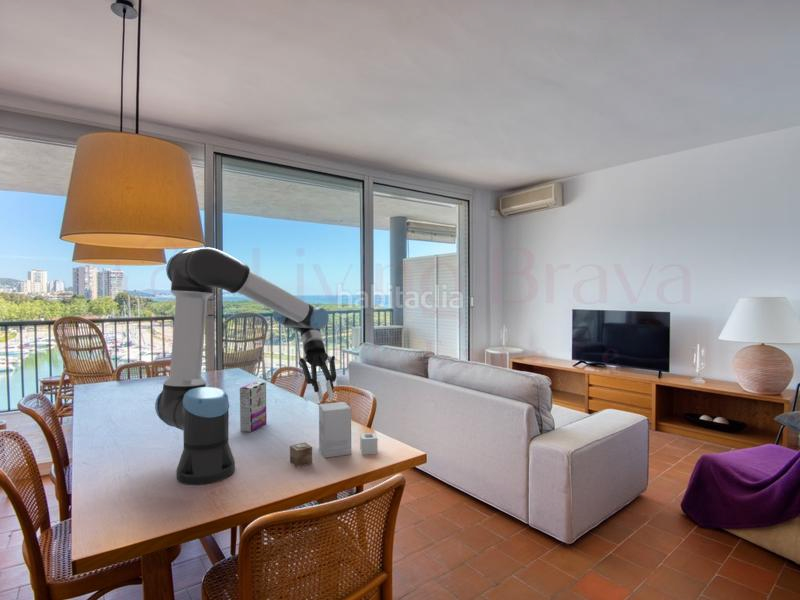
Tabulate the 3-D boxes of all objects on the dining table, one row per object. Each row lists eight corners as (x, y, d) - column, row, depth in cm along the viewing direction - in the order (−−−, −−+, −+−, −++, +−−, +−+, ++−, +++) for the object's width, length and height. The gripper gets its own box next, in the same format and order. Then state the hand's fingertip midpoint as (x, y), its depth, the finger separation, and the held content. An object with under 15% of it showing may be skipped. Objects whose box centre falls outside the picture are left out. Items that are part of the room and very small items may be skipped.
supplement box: (345, 445, 144) (345, 401, 144) (351, 454, 136) (352, 407, 136) (318, 448, 141) (318, 403, 141) (323, 458, 133) (323, 410, 132)
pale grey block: (361, 454, 136) (362, 438, 136) (360, 449, 141) (360, 433, 141) (377, 453, 137) (377, 437, 137) (375, 448, 142) (375, 432, 142)
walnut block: (296, 467, 126) (296, 449, 126) (289, 461, 130) (290, 445, 130) (312, 463, 129) (312, 446, 129) (305, 458, 133) (305, 441, 133)
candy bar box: (255, 422, 168) (255, 381, 168) (266, 423, 167) (266, 381, 167) (239, 431, 157) (239, 387, 157) (251, 432, 156) (251, 388, 156)
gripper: (331, 349, 167) (346, 402, 152) (290, 352, 160) (301, 407, 145) (336, 337, 162) (351, 390, 148) (293, 339, 155) (305, 395, 140)
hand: (326, 398), depth 146 cm, fingers open, 3 cm apart
